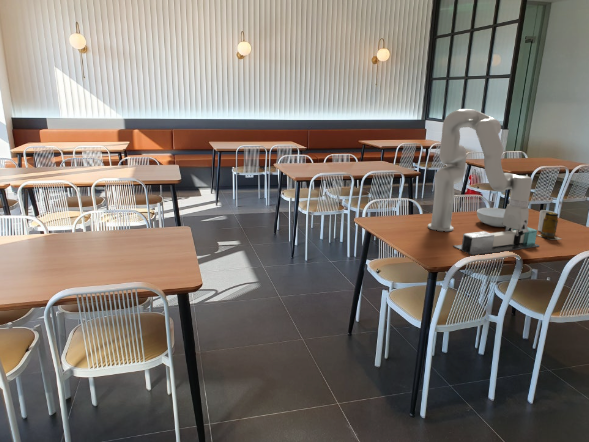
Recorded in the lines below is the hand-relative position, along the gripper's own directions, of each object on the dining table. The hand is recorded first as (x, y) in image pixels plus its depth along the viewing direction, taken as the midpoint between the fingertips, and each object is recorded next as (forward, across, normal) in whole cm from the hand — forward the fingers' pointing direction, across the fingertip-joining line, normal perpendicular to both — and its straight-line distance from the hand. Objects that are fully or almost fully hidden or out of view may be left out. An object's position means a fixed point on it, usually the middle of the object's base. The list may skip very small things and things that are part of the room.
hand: (512, 241), depth 200 cm
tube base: (+1, 0, -9) cm, 9 cm away
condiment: (+2, -3, +28) cm, 28 cm away
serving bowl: (+2, -28, +20) cm, 35 cm away
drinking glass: (+2, -12, +35) cm, 37 cm away
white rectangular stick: (0, 0, -5) cm, 5 cm away
